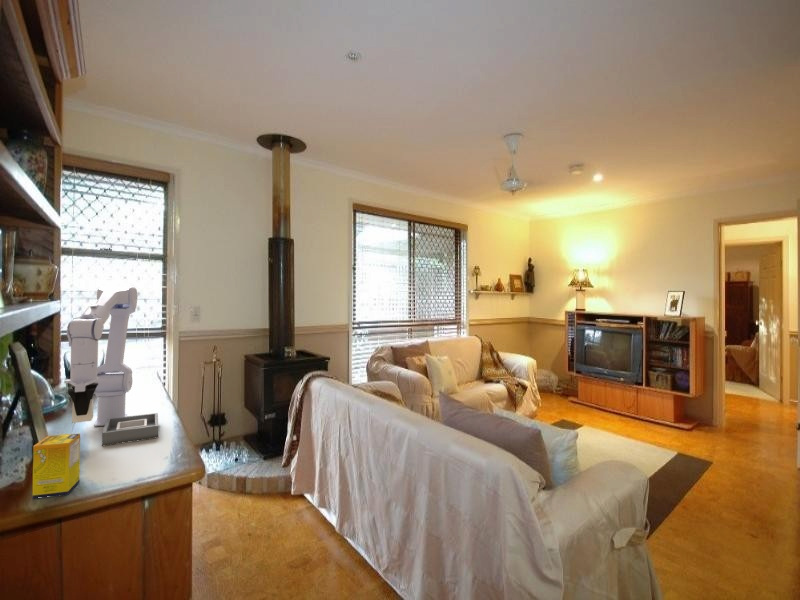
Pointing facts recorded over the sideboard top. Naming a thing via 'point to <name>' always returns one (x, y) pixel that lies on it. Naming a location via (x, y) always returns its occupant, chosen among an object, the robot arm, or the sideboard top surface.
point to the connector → (83, 417)
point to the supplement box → (56, 465)
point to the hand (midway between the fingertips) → (83, 412)
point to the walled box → (130, 428)
